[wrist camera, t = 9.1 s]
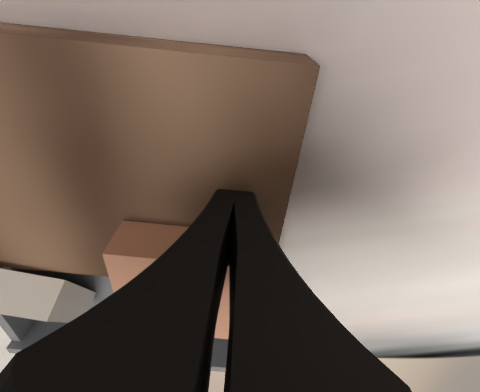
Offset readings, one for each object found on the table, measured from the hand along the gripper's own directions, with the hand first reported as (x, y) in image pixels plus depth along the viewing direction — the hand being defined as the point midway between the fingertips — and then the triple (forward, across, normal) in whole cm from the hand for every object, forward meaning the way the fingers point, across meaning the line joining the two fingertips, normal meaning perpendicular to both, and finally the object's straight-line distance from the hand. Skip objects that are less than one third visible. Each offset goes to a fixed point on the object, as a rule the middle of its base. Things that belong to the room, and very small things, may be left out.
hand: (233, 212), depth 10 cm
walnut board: (+3, +6, 0) cm, 7 cm away
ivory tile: (+1, +10, +7) cm, 12 cm away
